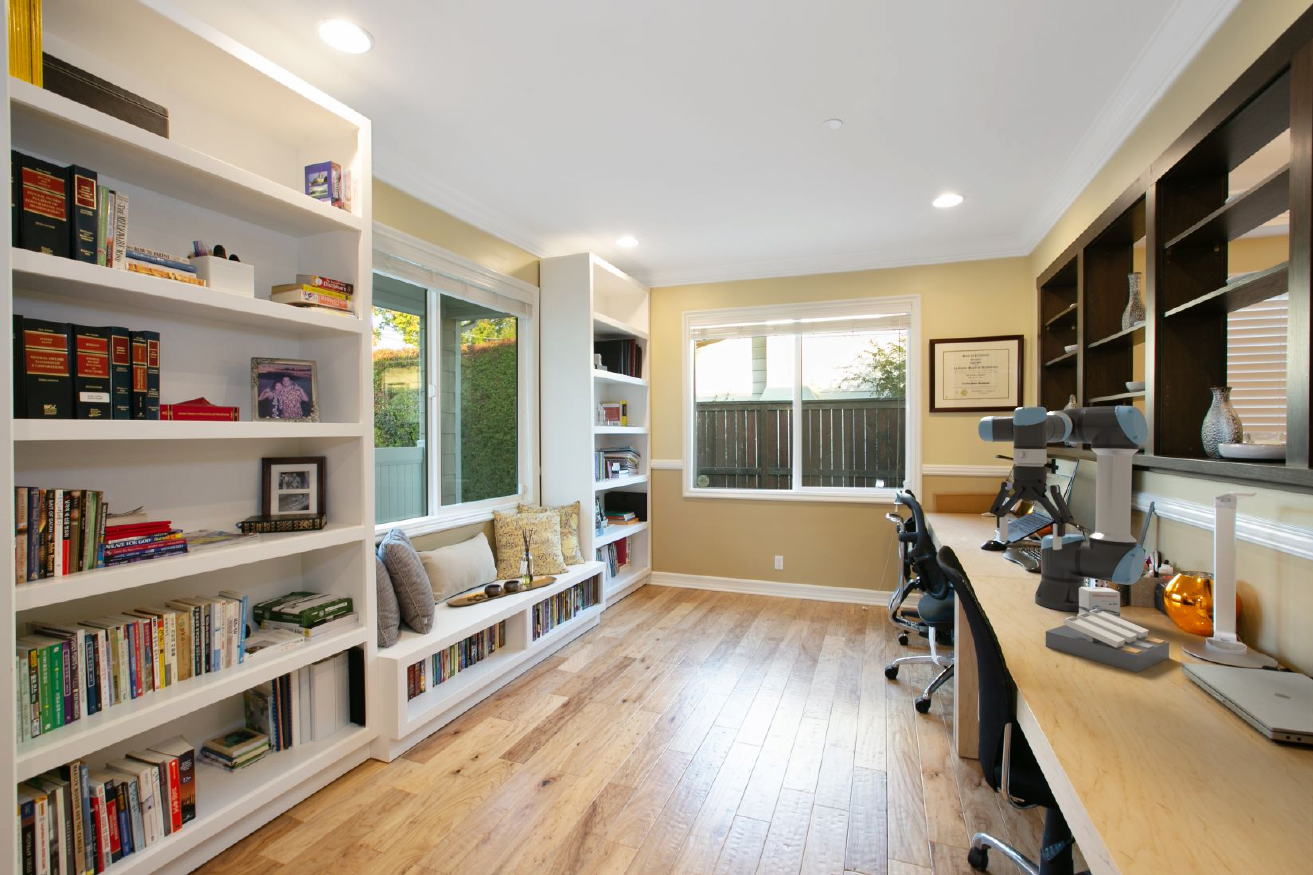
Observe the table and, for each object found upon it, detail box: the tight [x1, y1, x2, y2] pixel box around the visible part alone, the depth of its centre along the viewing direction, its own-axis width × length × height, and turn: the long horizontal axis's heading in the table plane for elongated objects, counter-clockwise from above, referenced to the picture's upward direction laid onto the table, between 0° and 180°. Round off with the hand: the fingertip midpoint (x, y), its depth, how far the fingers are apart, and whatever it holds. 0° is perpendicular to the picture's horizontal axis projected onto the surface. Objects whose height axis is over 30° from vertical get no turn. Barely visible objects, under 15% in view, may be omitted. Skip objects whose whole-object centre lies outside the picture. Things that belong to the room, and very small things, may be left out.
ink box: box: [1078, 586, 1121, 619], centre depth 170 cm, size 9×5×12 cm, turn 84°
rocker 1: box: [1063, 615, 1126, 648], centre depth 150 cm, size 4×12×2 cm, turn 31°
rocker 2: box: [1075, 612, 1137, 643], centre depth 153 cm, size 4×12×2 cm, turn 31°
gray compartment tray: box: [1045, 624, 1170, 673], centre depth 153 cm, size 18×20×5 cm
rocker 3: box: [1089, 609, 1150, 638], centre depth 156 cm, size 4×12×2 cm, turn 31°
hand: (1029, 544), depth 158 cm, fingers open, 13 cm apart
